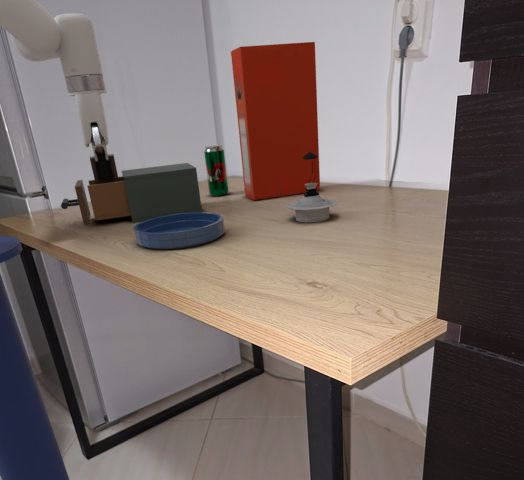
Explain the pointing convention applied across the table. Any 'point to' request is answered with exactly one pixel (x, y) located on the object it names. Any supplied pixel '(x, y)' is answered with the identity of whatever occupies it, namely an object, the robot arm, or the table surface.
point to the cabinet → (162, 191)
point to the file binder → (277, 117)
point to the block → (113, 165)
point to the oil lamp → (311, 202)
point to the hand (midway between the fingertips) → (106, 178)
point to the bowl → (179, 230)
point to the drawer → (101, 200)
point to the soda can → (216, 170)
